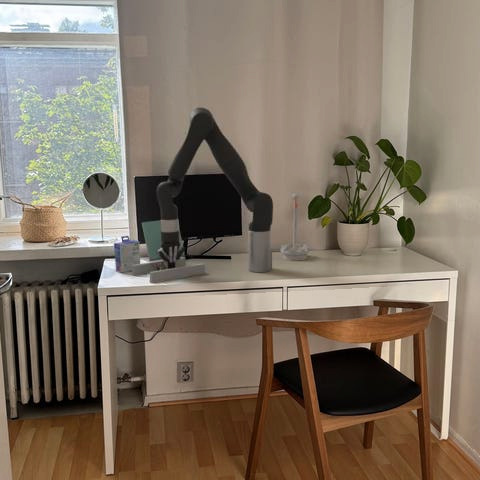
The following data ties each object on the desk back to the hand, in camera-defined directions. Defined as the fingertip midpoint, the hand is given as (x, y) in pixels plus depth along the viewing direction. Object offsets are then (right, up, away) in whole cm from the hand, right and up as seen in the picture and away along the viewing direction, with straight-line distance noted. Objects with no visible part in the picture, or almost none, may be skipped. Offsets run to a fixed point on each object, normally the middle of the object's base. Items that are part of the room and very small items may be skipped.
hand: (171, 270), depth 259 cm
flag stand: (+54, +4, +29) cm, 61 cm away
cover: (-4, +13, +7) cm, 16 cm away
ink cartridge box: (-19, 0, +7) cm, 21 cm away
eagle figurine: (-3, -2, -4) cm, 5 cm away
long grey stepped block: (-1, -1, -1) cm, 2 cm away
